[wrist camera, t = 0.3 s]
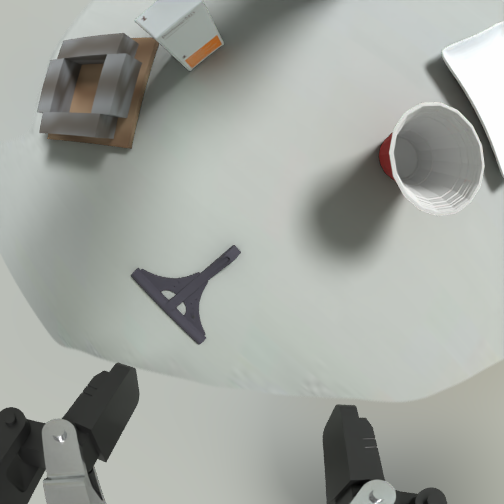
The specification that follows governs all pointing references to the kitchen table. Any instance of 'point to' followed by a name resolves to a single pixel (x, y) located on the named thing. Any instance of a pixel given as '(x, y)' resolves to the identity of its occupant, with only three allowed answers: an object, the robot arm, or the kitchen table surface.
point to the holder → (96, 89)
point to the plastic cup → (434, 158)
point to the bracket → (184, 292)
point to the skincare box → (182, 29)
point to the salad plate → (482, 80)
